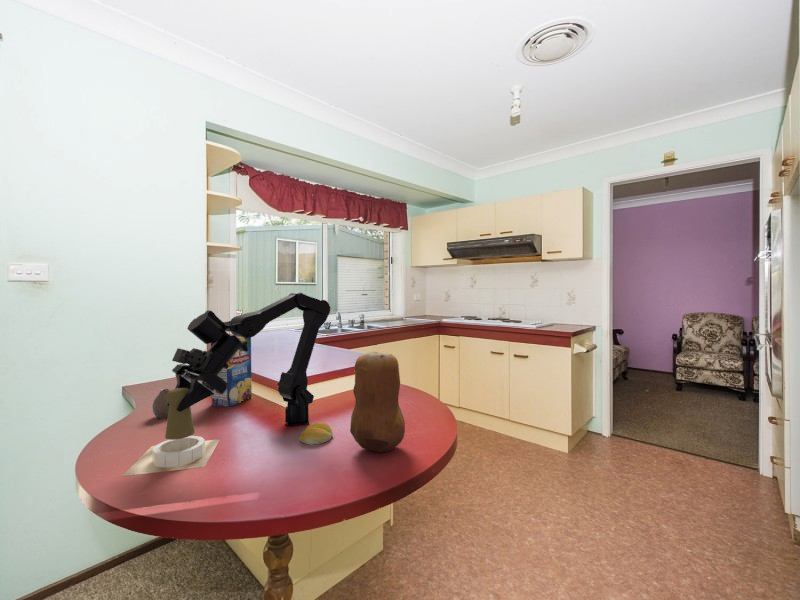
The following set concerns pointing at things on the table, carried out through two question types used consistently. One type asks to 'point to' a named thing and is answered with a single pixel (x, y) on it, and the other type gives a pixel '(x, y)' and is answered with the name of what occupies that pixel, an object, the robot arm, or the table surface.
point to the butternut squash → (377, 403)
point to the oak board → (147, 466)
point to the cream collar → (178, 451)
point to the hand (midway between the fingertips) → (173, 408)
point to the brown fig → (161, 404)
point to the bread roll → (316, 433)
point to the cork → (178, 416)
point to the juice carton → (236, 378)
